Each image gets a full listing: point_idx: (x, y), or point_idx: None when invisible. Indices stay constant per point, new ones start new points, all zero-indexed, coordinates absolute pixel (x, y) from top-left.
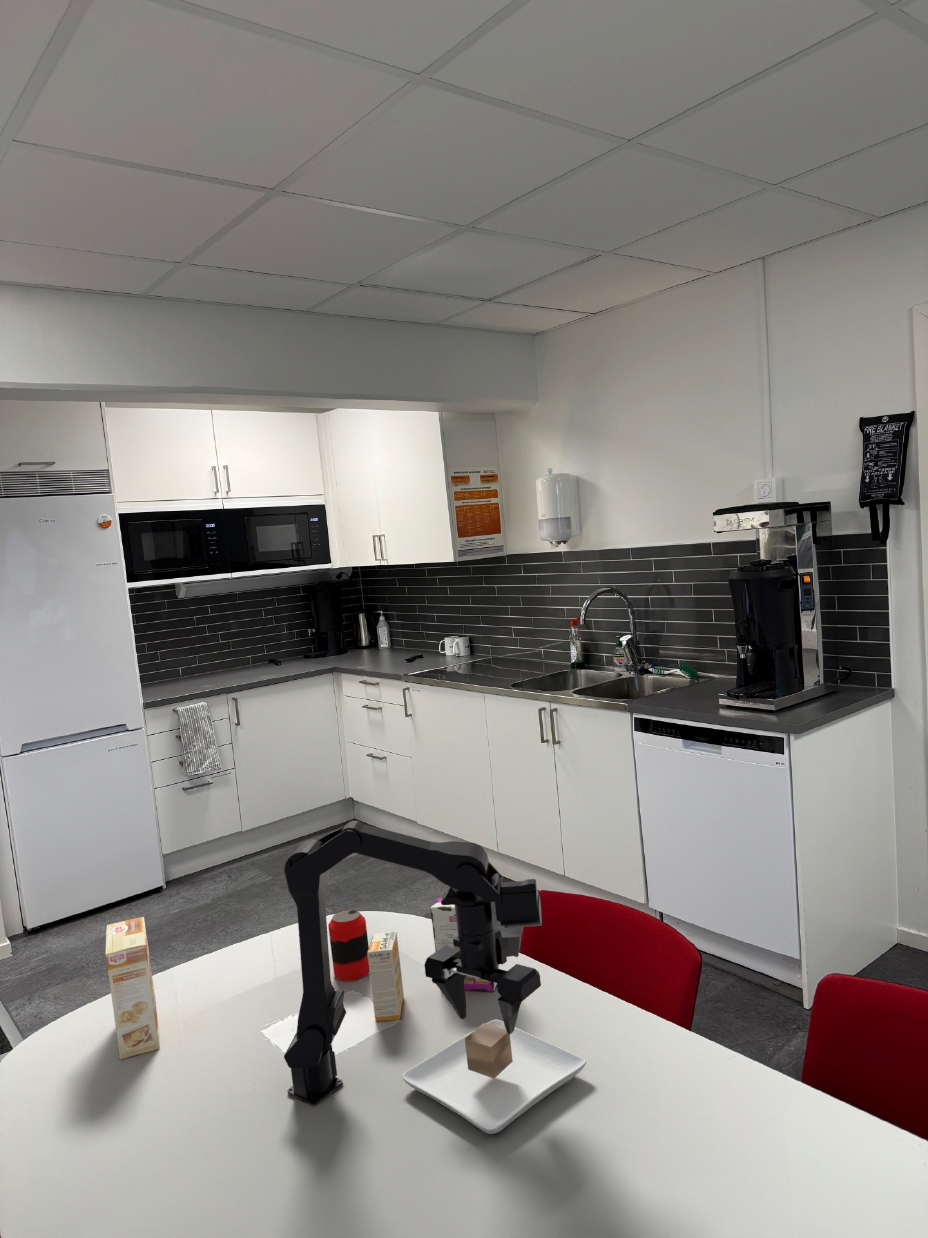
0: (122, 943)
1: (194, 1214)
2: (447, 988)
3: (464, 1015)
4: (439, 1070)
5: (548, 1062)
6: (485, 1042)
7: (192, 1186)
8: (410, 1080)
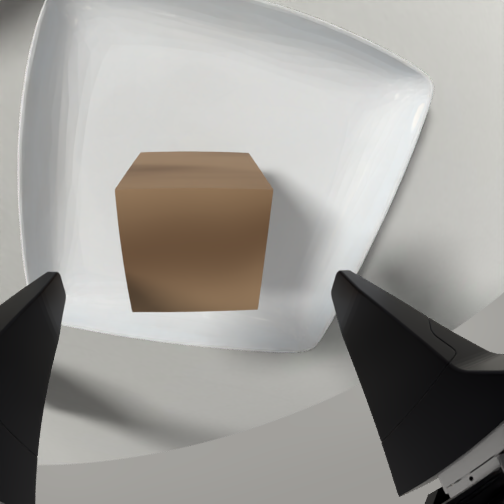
0: None
1: (89, 456)
2: (34, 488)
3: (59, 291)
4: (57, 232)
5: (315, 64)
6: (221, 297)
7: (56, 445)
8: None
